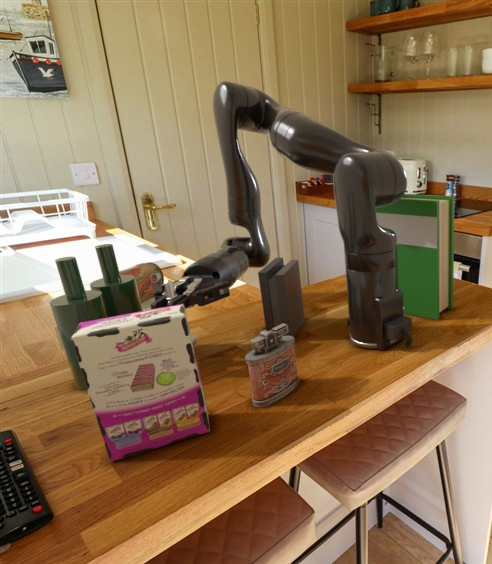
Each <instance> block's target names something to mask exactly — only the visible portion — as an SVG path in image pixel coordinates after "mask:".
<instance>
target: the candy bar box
mask: <svg viewBox="0 0 492 564" xmlns="http://www.w3.org/2000/svg"><path fill="white" fill-rule="evenodd" d="M191 335H192V334H191V330H190V326H189V321H188V316H187V312H186V309H185V307H184V304H179V305H174V306H168V307H163V308H157V309H151V308H150V309H146V310H143V311H141V312H135V313H130V314H125V315H119V316H114V317H109V318H103V319H98V320H93V321H87V322H82V323H79V325H78V327H77V330H76V331H75V333H74V334H73V336H72V338H71V341H72V344H73V347H74V350H75V354H76V356H77V360H78V362H79V365H80V368H81V371H82V374H83V378H84V381H85V384H86V387H87V390H86V391H87V393H88V397H89V401H90V402H91V406H92V409H93V413H94V416H95V419H96V421H97V422H96V423H97V425H98V428H99V431H100V434H101V437H102V440H103V443H104V447H105V450H106V454H107V457H108V460H109V461H110V462H116V461H119V460H123V459H126V458H129V457H132V456H136V455H139V454H142V453H145V452H149V451H151V450H156V449H159V448H163V447H166V446H169V445H172V444H174V443H178V442H181V441H185V440H188V439H191V438H194V437H198V436H200V435H204V434H207V433H209V432H211V428H210V420H209V412H208V406H207V401H206V397H205V393H204V388H203V387H204V386H203V383H202V379H201V375H200V374H201V373H200V370H199V366H198V361H197V357H196V352H195V347H194V345H193V342H192V338H191Z"/></svg>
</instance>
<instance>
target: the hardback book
mask: <svg viewBox="0 0 492 564" xmlns="http://www.w3.org/2000/svg"><path fill="white" fill-rule="evenodd" d="M375 211H376V218H377V222H378V224H379V225H380V226H382V227H385V228H389V229H392V230H393V231H395V233H396V235H397V257H398V289H399V290H402V291H403V307H404V309H403V311H404V314H407V315H412V316H417V317H420V318H426V319H431V320H434V321H439V320H440V313H442V312H443V311H444V310H445V309H446V310H453V309H454V268H455V267H454V265H455V263H454V262H455V261H454V260H455V258H454V257H455V196H454V195H434V194H433V195H432V194H414V193H413V194H412V193H404V195H403V196H402V198H401V199H399V200H398V201H397V202H395V203H393V204H391V205H388V206H385V207H380V208H375Z"/></svg>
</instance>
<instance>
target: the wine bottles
mask: <svg viewBox="0 0 492 564" xmlns="http://www.w3.org/2000/svg"><path fill="white" fill-rule="evenodd" d="M94 248H95V253H96V256H97V260H98V263H99V267H100V271H101V275H102V278H99V279H95V280H93V281H92V282H90V284H89V287H90V289H89V290H85V289H86V288H85V285H84V282H83V279H82V275H81V271H80V268H79V265H78V261H77V258H76V256H64V257H60V258H59V257H58V258H56V259H55V260H54V261H55V265H56V269H57V272H58V276H59V278H60V281H61V284H62V289H63V292H64V294H63V295H59V296H57V297H55V298H53V299H51V300H50V302H49V305H50V309H51V312H52V315H53V318H54V322H55V325H54V326H53V327H54V330H55V331H54V332H55V334H56V337H57V340H58V343H59V347H60V350H61V351H64V353H65V355H66V356H65V357H66V359H67V360H66V361H67V364H68V365H69V369H70V372H71V376H72V379H73V382H74V385H75V388H77V390H81V391H88V390H87V387H86V384H85V381H84V378H83V374H82V371H81V368H80V365H79V362H78V360H77V356H76V354H75V350H74V347H73V344H72V341H71V338H72V336H73V334H74V333H75V331H76V330H77V327H78V325H79V323H82V322H87V321H93V320H98V319H103V318H109V317H114V316H119V315H125V314H130V313H135V312H141V311H144V308H143V305H142V302H141V300H140V296H139V292H138V288H137V284H136V280H135V277H134V276H132V275H120V272H119V271H120V269H119V265H118V261H117V256H116V253H115V249H114V245H113V244H112V243H105V244H98V245H95V246H94Z"/></svg>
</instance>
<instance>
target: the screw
mask: <svg viewBox="0 0 492 564" xmlns="http://www.w3.org/2000/svg"><path fill="white" fill-rule="evenodd" d="M173 282H174V281H173V280H172V279H167V280H164V285H165V290H166V295H167V298H166V299H167V302H166V303H169V302H170V301H172V300H173V299H175V298H176V297H177V294H176V292H175V288H174V284H173ZM191 338H192V342H193V346H195V345H196V344H197V343H198V342H199V338H198V336H196V335H194V334H191Z"/></svg>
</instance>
